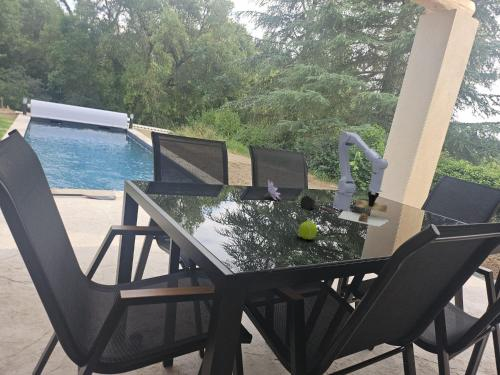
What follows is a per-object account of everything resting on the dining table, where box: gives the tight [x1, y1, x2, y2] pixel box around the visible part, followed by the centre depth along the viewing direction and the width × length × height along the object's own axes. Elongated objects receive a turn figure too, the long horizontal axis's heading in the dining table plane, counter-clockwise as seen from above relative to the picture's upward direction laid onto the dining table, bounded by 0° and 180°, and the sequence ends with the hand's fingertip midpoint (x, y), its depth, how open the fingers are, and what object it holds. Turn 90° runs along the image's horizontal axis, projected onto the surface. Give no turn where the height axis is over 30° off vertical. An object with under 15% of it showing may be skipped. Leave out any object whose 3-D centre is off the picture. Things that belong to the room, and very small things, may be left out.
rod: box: [355, 198, 388, 213], centre depth 204 cm, size 16×3×3 cm, turn 69°
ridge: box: [359, 212, 369, 223], centre depth 194 cm, size 4×8×3 cm, turn 159°
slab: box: [337, 210, 389, 228], centre depth 198 cm, size 24×22×1 cm
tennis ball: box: [298, 220, 318, 241], centre depth 148 cm, size 7×7×7 cm
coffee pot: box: [299, 195, 336, 213], centre depth 204 cm, size 8×18×8 cm
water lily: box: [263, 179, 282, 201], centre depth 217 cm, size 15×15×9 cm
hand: (370, 205), depth 204 cm, fingers closed on rod, 3 cm apart
